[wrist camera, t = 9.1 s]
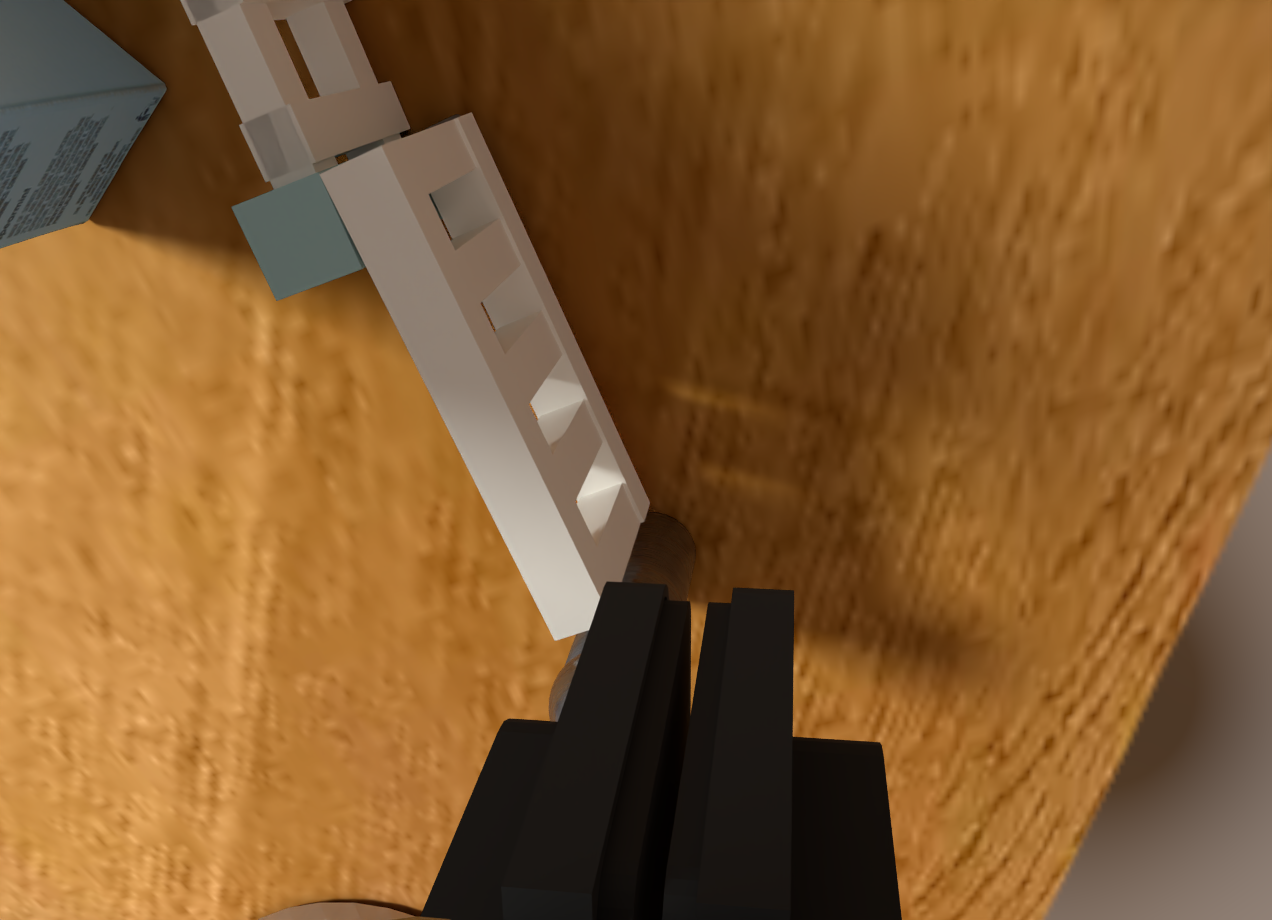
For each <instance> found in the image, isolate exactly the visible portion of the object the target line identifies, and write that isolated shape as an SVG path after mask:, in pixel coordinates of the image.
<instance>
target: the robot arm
mask: <svg viewBox="0 0 1272 920" xmlns="http://www.w3.org/2000/svg"><path fill="white" fill-rule="evenodd" d="M793 650H794V590H773V589H753V588H733V593H732V601H731V603H713V602H709V603H708V608H707V614H706V621H705V627H704V633H703V640H702V646H701V652H700V659H699V665H698V672H697V678H696V684H695V691H694V697H693V704H692V710H691V716H690V706H691V606H690V601H674V600H669V592H668V586H667V584H650V583H629V582H609V581H606V583H605V585H604V588H603V591H602V594H601V597H600V600H599V603H598V605H597V608H596V611H595V614H594V617H593V620H592V623H591V626H590V629H589V632H588V635H587V638H586V640H585V643H584V646H583V649H582V652H581V655H580V658H579V661H578V664H577V667H576V670H575V673H574V675H573V678H572V681H571V684H570V687H569V690H568V693H567V696H566V699H565V702H564V705H563V708H562V710H561V713H560V716H559V719H558V722H555V721H539V720H524V719H507V720H505V721H504V722H503V724H502V726H501V727H500V729H499V731H498V733H497V735H496V738H495V740H494V742H493V745H492V747H491V750H490V752H489V754H488V757H487V759H486V761H485V764H484V766H483V769H482V771H481V773H480V776H479V778H478V780H477V783H476V785H475V788H474V790H473V792H472V795H471V797H470V799H469V802H468V804H467V807H466V809H465V811H464V814H463V816H462V819H461V821H460V823H459V826H458V828H457V830H456V833H455V835H454V838H453V840H452V842H451V845H450V847H449V849H448V852H447V854H446V857H445V859H444V861H443V864H442V866H441V868H440V871H439V873H438V876H437V878H436V880H435V883H434V885H433V887H432V890H431V892H430V895H429V897H428V899H427V902H426V904H425V906H424V909H423V911H422V914H421V916H420V917H417V916H413V915H409V914H406V913H403V912H400V911H397V910H393V909H390V908H384V907H378V906H372V905H365V904H359V903H314V904H308V905H302V906H296V907H290V908H286V909H284V910H281V911H278V912H276V913H273V914H270V915H268V916H265V917H262V918H260V919H258V920H902V917H901V908H900V899H899V890H898V881H897V872H896V863H895V854H894V845H893V836H892V827H891V818H890V809H889V800H888V791H887V782H886V773H885V764H884V756H883V750H882V745H881V744H880V742H865V741H850V740H834V739H819V738H803V737H793Z"/></svg>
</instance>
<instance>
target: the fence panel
mask: <svg viewBox="0 0 1272 920" xmlns="http://www.w3.org/2000/svg"><path fill="white" fill-rule="evenodd" d="M180 1H181V3H182V5H183V7H184V9H185V12H186V14H187V16H188V18H189V20H190V22H191V24H192V25H197V26H198V28H199V30H200V33H201V35H202V37H203V39H204V41H205V43H206V45H207V48H208V50H209V52H210V54H211V56H212V58H213V60H214V63H215V65H216V67H217V69H218V71H219V73H220V75H221V77H222V80H223V82H224V84H225V86H226V88H227V90H228V92H229V95H230V97H231V99H232V101H233V103H234V105H235V107H236V110H237V112H238V114H239V116H240V118H241V120H242V122H243V123H242V124H240V125H239V127H240V129H241V131H242V133H243V135H244V137H245V139H246V142H247V144H248V146H249V148H250V150H251V152H252V154H253V157H254V159H255V161H256V163H257V165H258V167H259V169H260V171H261V174H262V176H263V178H264V180H265V182H268V181H270V182H271V184H272V186H273V189H274V190H275V189H277V188H280V187H282V186H285V185H287V184H290V183H292V182H295V181H297V180H300V179H302V178H305V177H307V176H309V175H312V174H314V173H317V172H320V171H322V170H325V169H328V168H330V167H333V166H336V165H338V163H337V161H336V158H335V157H338V156H341V155H344V154H346V155H347V158H348V160H351V159H353V158H356V157H358V156H360V155H362V154H364V153H366V152H368V151H371V150H373V149H375V148H377V147H379V146H381V145H384V144H387V143H390V142H392V141H395V140H398V139H400V138H401V136H400V133H401V132H403V131H406V130H408V129H411V128H410V126H409V124H408V121H407V119H406V116H405V114H404V112H403V109H402V107H401V105H400V102H399V100H398V98H397V95H396V93H395V91H394V88H393V86H392V83H391V81H388V82H384V83H379V84H378V82H377V80H376V77H375V75H374V73H373V70H372V68H371V65H370V63H369V61H368V58H367V56H366V54H365V51H364V49H363V47H362V44H361V42H360V40H359V37H358V35H357V33H356V30H355V28H354V26H353V23H352V21H351V19H350V16H349V14H348V12H347V9H346V7H345V5H344V4H345V3H347V2H350V1H352V0H180ZM285 19H286V20H287V22H288V25H289V27H290V29H291V31H292V34H293V36H294V38H295V40H296V43H297V45H298V47H299V49H300V52H301V54H302V56H303V58H304V61H305V63H306V65H307V67H308V70H309V72H310V74H311V76H312V79H313V81H314V83H315V85H316V88H317V90H318V92H319V94H320V97H317V98H312V99H309V98H308V96H307V94H306V91H305V89H304V87H303V85H302V82H301V80H300V78H299V76H298V73H297V71H296V69H295V67H294V64H293V62H292V60H291V58H290V56H289V53H288V51H287V49H286V47H285V44H284V42H283V40H282V38H281V35H280V33H279V31H278V29H277V26H276V24H275V22H274V20H285Z"/></svg>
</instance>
